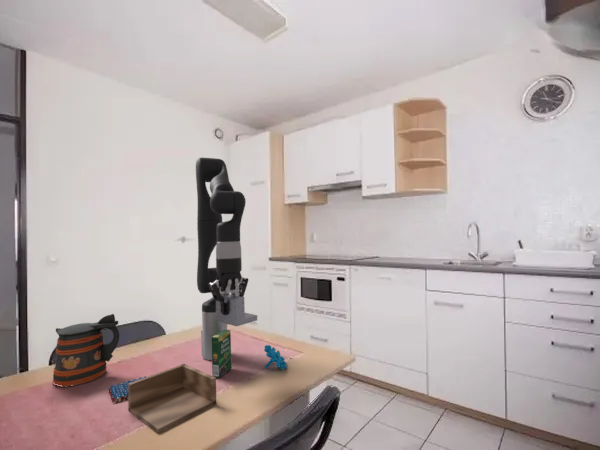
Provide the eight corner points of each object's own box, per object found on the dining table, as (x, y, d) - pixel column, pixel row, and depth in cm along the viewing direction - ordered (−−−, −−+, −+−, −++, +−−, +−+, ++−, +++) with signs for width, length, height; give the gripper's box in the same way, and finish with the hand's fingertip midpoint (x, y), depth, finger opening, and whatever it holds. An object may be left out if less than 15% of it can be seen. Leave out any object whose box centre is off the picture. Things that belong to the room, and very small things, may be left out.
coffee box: (219, 378, 101) (218, 337, 101) (211, 378, 102) (210, 336, 102) (232, 368, 108) (231, 329, 109) (224, 367, 109) (224, 329, 110)
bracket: (216, 320, 98) (215, 294, 99) (236, 315, 105) (236, 290, 105) (236, 326, 92) (236, 298, 92) (257, 320, 98) (256, 294, 98)
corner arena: (128, 410, 83) (128, 383, 84) (184, 387, 96) (184, 363, 96) (157, 433, 73) (157, 402, 73) (216, 403, 86) (215, 377, 86)
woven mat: (107, 392, 95) (107, 385, 95) (146, 381, 102) (146, 375, 102) (112, 406, 87) (111, 398, 87) (153, 393, 93) (153, 386, 93)
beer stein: (125, 363, 116) (124, 308, 116) (115, 380, 102) (114, 317, 103) (63, 371, 110) (63, 313, 111) (44, 391, 96) (43, 324, 97)
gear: (284, 370, 102) (263, 346, 104) (272, 383, 102) (251, 359, 104) (291, 361, 113) (271, 340, 115) (279, 373, 113) (260, 352, 115)
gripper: (239, 254, 105) (240, 307, 104) (201, 257, 94) (202, 316, 93) (254, 255, 100) (255, 310, 99) (216, 258, 89) (217, 320, 89)
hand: (229, 313), depth 96 cm, fingers closed on bracket, 3 cm apart
